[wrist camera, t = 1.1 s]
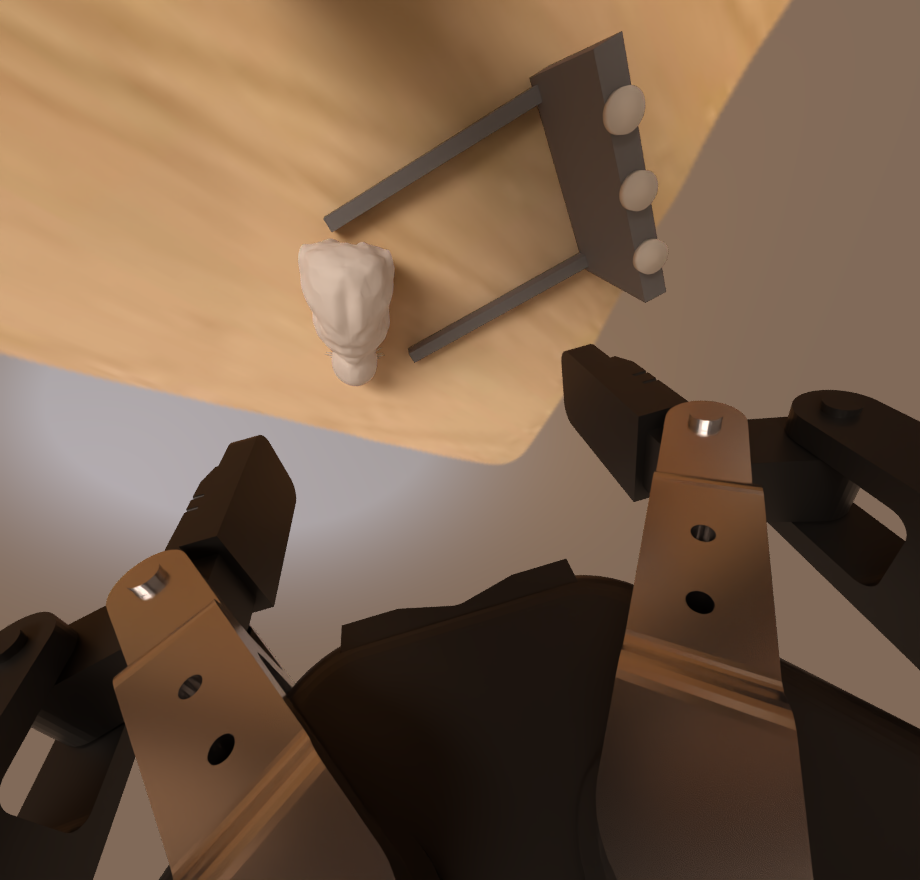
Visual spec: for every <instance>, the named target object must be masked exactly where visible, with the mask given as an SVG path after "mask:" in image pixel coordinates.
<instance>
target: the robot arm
mask: <svg viewBox="0 0 920 880" xmlns="http://www.w3.org/2000/svg"><path fill="white" fill-rule="evenodd" d="M561 361H562V377H563V392H564V404H565V410H566V413H567V416H568V419H569V421H570V423H571V424H572V426H573V427H574V428H575V429H576V431H577V432H578V433H579V434H580V436H581V437H582V438H583V439H584V440H585V442H586V443H587V444H588V445H589V447H590V448H591V449H592V450H593V451H594V453H595V454H596V455H597V457H598V458H599V459H600V460H601V462H602V463H603V464H604V465H605V467H606V468H607V469H608V470H609V472H610V473H611V474H612V475H613V477H614V478H615V479H616V480H617V482H618V483H619V484H620V485H621V487H622V488H623V489H624V490H625V492H626V493H627V494H628V495H629V497H630V498H631V499H632V500H633V502H636V501H639V500H642V499H646V498H649V502H648V508H647V514H646V519H645V525H644V530H643V536H642V542H641V548H640V553H639V559H638V565H637V570H636V576H635V582H634V585H633V584H630V583H628V582H624V581H621V580H617V579H613V578H608V577H602V576H591V575H574V573H573V571H572V569H571V568H570V565H569V563H568V561H567V559H564V560H560V561H557V562H554V563H550V564H547V565H544V566H540V567H537V568H534V569H530V570H527V571H524V572H520V573H517V574H513V575H511V576H509V577H507V578H506V579H504V580H502V581H500V582H499V583H497V584H495V585H494V586H492V587H490V588H489V589H486V590H485V591H483V592H481V593H480V594H478V595H476V596H474V597H472V598H471V599H469V600H467V601H465V602H464V603H462V604H459V605H455V606H442V607H423V608H406V609H396V610H393V611H389V612H386V613H382V614H379V615H376V616H372V617H369V618H366V619H362V620H359V621H356V622H352V623H349V624H346V625H342V634H341V646H340V647H339V648H337V649H335V650H334V651H332V652H331V653H329V654H328V655H327V656H325V657H324V658H322V659H321V660H320V661H319V662H318V663H316V664H315V665H314V666H313V667H312V668H310V669H309V670H308V671H307V672H306V673H305V674H304V675H303V676H302V677H301V678H300V679H299V680H298V681H297V683H295V682H294V681H293V680H292V678H291V677H290V676H289V674H288V673H287V672H286V671H285V669H284V668H283V666H282V665H281V664H280V662H279V661H278V660H277V659H276V657H275V656H274V654H273V653H272V652H271V650H270V649H269V648H268V646H267V645H266V644H265V642H264V641H263V640H262V638H261V637H260V636H259V634H258V633H257V632H256V630H255V629H254V628H253V627H252V626H251V625H250V624H249V623H250V619H251V615H252V613H253V612H257V611H261V610H264V609H267V608H271V607H274V604H275V599H276V594H277V590H278V585H279V580H280V575H281V571H282V566H283V561H284V556H285V552H286V547H287V542H288V537H289V532H290V527H291V523H292V518H293V514H294V509H295V504H296V493H295V488H294V485H293V483H292V480H291V478H290V477H289V475H288V473H287V472H286V470H285V468H284V466H283V465H282V463H281V461H280V460H279V458H278V456H277V455H276V453H275V451H274V449H273V448H272V446H271V444H270V443H269V441H268V440H267V439H266V438H265V437H264V436H262V435H258V436H254V437H251V438H247V439H244V440H240V441H236V442H233V443H231V444H230V445H229V446H228V448H227V450H226V452H225V454H224V456H223V458H222V460H221V462H220V464H219V466H217V467H215V468H214V469H213V470H212V471H211V472H210V473H209V474H208V475H207V476H206V478H204V479H203V480H202V481H201V482H200V484H199V486H198V488H197V490H196V492H195V494H194V496H193V500H191V501H190V503H189V505H188V507H187V509H186V510H187V512H186V513H184V515H183V516H182V518H181V520H180V522H179V524H178V526H177V528H176V530H175V532H174V534H173V535H172V537H171V539H170V541H169V543H168V545H167V547H166V549H165V551H163V552H160V553H158V554H155V555H153V556H151V557H149V558H147V559H145V560H143V561H142V562H140V563H138V564H137V565H136V566H134V567H133V568H132V569H130V570H129V571H128V572H127V573H126V574H125V575H124V576H123V577H122V578H121V579H120V580H119V581H118V582H117V583H116V584H115V586H114V587H113V588H112V590H111V592H110V593H109V595H108V598H107V601H106V606H104V607H102V608H100V609H98V610H96V611H94V612H92V613H91V614H89V615H87V616H85V617H83V618H81V619H79V620H77V621H75V622H73V623H71V624H69V625H68V624H66V623H65V622H63V621H62V620H61V619H59V618H58V617H57V616H55V615H54V614H52V613H50V612H39V613H35V614H32V615H29V616H27V617H24V618H22V619H20V620H18V621H16V622H15V623H12V624H11V625H9V626H7V627H6V628H4V629H3V630H1V631H0V785H1V782H2V779H3V777H4V775H5V773H6V771H7V769H8V768H9V766H10V764H11V762H12V760H13V758H14V757H15V755H16V753H17V751H18V750H19V748H20V746H21V744H22V742H23V741H24V739H25V737H26V735H27V733H28V731H29V730H30V728H34V729H36V730H37V731H39V732H41V733H43V734H45V735H47V736H49V737H51V738H53V739H55V742H54V744H53V746H52V748H51V750H50V752H49V754H48V756H47V758H46V760H45V762H44V764H43V766H42V768H41V770H40V772H39V774H38V776H37V778H36V780H35V782H34V784H33V786H32V788H31V790H30V792H29V794H28V796H27V798H26V800H25V802H24V804H23V806H22V808H21V810H20V812H19V814H18V816H17V817H16V816H13V815H10V814H8V813H6V812H5V811H4V810H3V809H2V807H1V805H0V880H93V878H94V874H95V872H96V869H97V866H98V863H99V860H100V857H101V854H102V852H103V849H104V846H105V843H106V840H107V837H108V834H109V831H110V829H111V826H112V822H113V820H114V817H115V814H116V811H117V808H118V805H119V803H120V799H121V797H122V794H123V791H124V788H125V785H126V782H127V779H128V777H129V774H130V771H131V768H132V765H133V762H134V759H135V757H136V760H137V763H138V766H139V769H140V773H141V776H142V779H143V782H144V786H145V789H146V792H147V795H148V798H149V801H150V804H151V808H152V811H153V814H154V817H155V821H156V824H157V827H158V830H159V833H160V836H161V840H162V843H163V846H164V849H165V852H166V855H167V859H168V862H169V866H168V867H167V868H166V870H165V871H164V873H163V874H162V876H161V877H160V879H159V880H920V729H919V728H917V727H915V726H913V725H911V724H909V723H907V722H905V721H903V720H901V719H899V718H897V717H896V716H894V715H892V714H890V713H887V712H886V711H884V710H882V709H880V708H878V707H876V706H874V705H872V704H870V703H868V702H866V701H864V700H862V699H860V698H858V697H856V696H854V695H852V694H850V693H848V692H846V691H844V690H842V689H840V688H838V687H836V686H834V685H833V684H830V683H828V682H827V681H825V680H823V679H821V678H819V677H816V676H815V675H813V674H811V673H809V672H807V671H805V670H803V669H801V668H799V667H797V666H795V665H793V664H791V663H789V662H787V661H785V660H783V659H781V658H780V657H779V648H778V637H777V627H776V616H775V606H774V596H773V585H772V575H771V565H770V554H769V544H768V533H767V524H766V522H768V523H769V524H770V525H771V526H772V527H773V528H774V529H775V530H776V531H777V532H778V533H779V534H780V535H781V536H782V537H783V538H784V539H785V540H786V541H788V542H789V543H790V544H791V545H792V546H793V547H794V548H795V549H796V550H797V551H798V552H799V553H800V554H801V555H802V556H803V557H804V558H805V559H806V560H807V561H808V562H809V563H810V564H811V565H812V566H813V567H814V568H815V569H816V570H817V571H818V572H819V573H820V574H821V575H822V576H824V577H825V578H826V579H827V580H828V581H829V582H830V583H831V584H832V585H833V586H834V587H835V588H836V589H837V590H838V591H839V592H840V593H841V594H842V595H843V596H844V597H845V598H846V599H847V600H848V601H849V602H850V603H851V604H852V605H853V606H854V607H855V608H857V610H858V611H860V612H861V613H862V614H863V615H864V616H865V617H866V618H867V619H868V620H869V621H870V622H871V623H872V624H873V625H874V626H875V627H876V628H877V629H878V630H879V631H880V632H881V633H882V634H883V635H884V636H885V637H886V638H887V639H889V641H891V643H893V644H894V645H895V646H896V647H897V648H898V649H899V650H900V651H901V652H902V653H903V654H904V655H905V656H906V657H907V658H908V659H909V660H910V661H911V662H912V663H913V664H914V665H915V666H916V667H917V668H918V669H919V670H920V422H919V421H917V420H915V419H913V418H911V417H909V416H907V415H905V414H903V413H901V412H899V411H897V410H895V409H893V408H891V407H889V406H887V405H885V404H883V403H881V402H879V401H877V400H875V399H873V398H870V397H867V396H864V395H860V394H857V393H852V392H846V391H838V390H819V391H812V392H807V393H804V394H801V395H799V396H798V397H796V398H795V399H794V401H793V403H792V406H791V409H790V412H789V415H788V417H778V418H763V419H750V420H749V419H747V418H746V417H745V415H744V414H743V413H741V412H740V411H739V410H737V409H735V408H733V407H731V406H729V405H726V404H723V403H718V402H713V401H691V402H688V401H687V400H686V399H684V398H683V397H681V396H680V395H679V394H677V393H676V392H674V391H673V390H671V389H670V388H669V387H668V386H666V385H665V384H663V383H662V382H661V381H659V380H656V378H655V377H654V376H652V375H651V374H650V373H646V371H645V370H644V369H643V368H641V367H640V366H638V365H637V364H636V363H634V362H632V361H629V360H626V359H622V358H619V357H616V356H614V357H611V358H610V357H609V356H608V355H606V354H605V353H604V352H602V351H601V350H600V349H598V348H597V347H596V346H595V345H593V344H589V345H586V346H582V347H578V348H575V349H571V350H568V351H564V352H563V354H562V360H561ZM860 488H862V489H863V490H865V491H866V492H868V493H869V494H870V495H872V496H873V497H875V498H877V499H878V500H879V501H880V502H882V503H883V504H885V505H886V506H887V507H889V508H890V509H892V510H893V511H894V512H895V513H896V514H897V515H898V516H899V517H900V519H901V520H902V522H903V523H904V525H905V528H906V532H907V538H906V541H904V540H903V539H902V538H900V537H899V536H897V535H896V534H895V533H893V532H892V531H891V530H889V529H888V528H887V527H885V526H884V525H883V524H881V523H880V522H879V521H877V520H876V519H875V518H873V517H872V516H871V515H869V514H868V513H867V512H865V511H864V510H863V509H861V508H860V507H858V506H857V505H856V504H854V503H853V500H854V499H855V497H856V495H857V493H858V491H859V489H860Z"/></svg>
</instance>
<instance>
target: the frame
mask: <svg viewBox="0 0 920 880" xmlns="http://www.w3.org/2000/svg"><path fill="white" fill-rule="evenodd" d="M530 81H531V85H532V87H531V88H529V89H528V90H526V91H524V92H523V93H521V94H520V95H518V96H516V97H515V98H513V99H512V100H510V101H508V102H507V103H505V104H504V105H502V106H500V107H499V108H497V109H496V110H494V111H492V112H491V113H489V114H488V115H486V116H484V117H483V118H481V119H480V120H478V121H477V122H475V123H473V124H472V125H470V126H469V127H467V128H465V129H464V130H462V131H461V132H459V133H457V134H456V135H454V136H453V137H451V138H449V139H448V140H446V141H445V142H443V143H441V144H440V145H438V146H437V147H435V148H433V149H432V150H430V151H429V152H427V153H425V154H424V155H422V156H421V157H419V158H417V159H416V160H414V161H413V162H411V163H410V164H408V165H406V166H405V167H403V168H402V169H400V170H398V171H397V172H395V173H394V174H392V175H390V176H389V177H387V178H386V179H384V180H382V181H381V182H379V183H378V184H376V185H374V186H373V187H371V188H370V189H368V190H366V191H365V192H363V193H362V194H360V195H358V196H357V197H355V198H354V199H352V200H350V201H349V202H347V203H346V204H344V205H343V206H341V207H339V208H338V209H336V210H335V211H333V212H331V213H330V214H328V215H327V216H325V217H324V218H323V219H324V221H325V222H326V224H327V225H328V227H329V229H330V230H331V232H333V231H335V230H337V229H338V228H340V227H341V226H343V225H345V224H346V223H348V222H350V221H351V220H353V219H354V218H356V217H358V216H359V215H361V214H362V213H364V212H366V211H367V210H369V209H371V208H372V207H374V206H375V205H377V204H379V203H380V202H382V201H383V200H385V199H387V198H388V197H390V196H392V195H393V194H395V193H396V192H398V191H400V190H401V189H403V188H404V187H406V186H408V185H409V184H411V183H413V182H414V181H416V180H417V179H419V178H421V177H422V176H424V175H425V174H427V173H429V172H430V171H432V170H434V169H435V168H437V167H438V166H440V165H442V164H443V163H445V162H446V161H448V160H450V159H451V158H453V157H455V156H456V155H458V154H459V153H461V152H463V151H464V150H466V149H467V148H469V147H471V146H472V145H474V144H475V143H477V142H479V141H480V140H482V139H484V138H485V137H487V136H488V135H490V134H492V133H493V132H495V131H496V130H498V129H500V128H501V127H503V126H505V125H506V124H508V123H509V122H511V121H513V120H514V119H516V118H517V117H519V116H521V115H522V114H524V113H526V112H527V111H529V110H530V109H532V108H534V107H535V106H538V109H539V113H540V116H541V120H542V123H543V127H544V130H545V134H546V137H547V141H548V144H549V148H550V151H551V155H552V158H553V162H554V165H555V168H556V172H557V175H558V179H559V182H560V186H561V189H562V193H563V196H564V200H565V203H566V207H567V210H568V214H569V217H570V221H571V224H572V228H573V231H574V235H575V238H576V242H577V245H578V249H579V252H580V253H578V254H576V255H574V256H572V257H571V258H569V259H567V260H565V261H563V262H562V263H560V264H558V265H556V266H555V267H553V268H551V269H549V270H547V271H546V272H544V273H542V274H540V275H538V276H537V277H535V278H533V279H531V280H529V281H528V282H526V283H524V284H522V285H521V286H519V287H517V288H515V289H513V290H512V291H510V292H508V293H506V294H504V295H503V296H501V297H499V298H497V299H496V300H494V301H492V302H490V303H488V304H487V305H485V306H483V307H481V308H479V309H478V310H476V311H474V312H472V313H471V314H469V315H467V316H465V317H463V318H462V319H460V320H458V321H456V322H454V323H453V324H451V325H449V326H447V327H445V328H444V329H442V330H440V331H438V332H437V333H435V334H433V335H431V336H429V337H428V338H426V339H424V340H422V341H420V342H419V343H417V344H415V345H413V346H412V347H410V348H408V352H409V355H410V356H411V358H412V360H413V361H414V363H415V362H417V361H419V360H420V359H422V358H424V357H426V356H428V355H429V354H431V353H433V352H435V351H437V350H439V349H440V348H442V347H444V346H446V345H448V344H449V343H451V342H453V341H455V340H457V339H458V338H460V337H462V336H464V335H466V334H467V333H469V332H471V331H473V330H475V329H477V328H478V327H480V326H482V325H484V324H486V323H487V322H489V321H491V320H493V319H495V318H496V317H498V316H500V315H502V314H504V313H505V312H507V311H509V310H511V309H513V308H514V307H516V306H518V305H520V304H522V303H524V302H525V301H527V300H529V299H531V298H533V297H534V296H536V295H538V294H540V293H542V292H543V291H545V290H547V289H549V288H551V287H552V286H554V285H556V284H558V283H560V282H562V281H563V280H565V279H567V278H569V277H571V276H572V275H574V274H576V273H578V272H580V271H581V270H583V269H586V270H587V271H589V272H591V273H593V274H595V275H596V276H598V277H600V278H602V279H604V280H605V281H607V282H609V283H611V284H612V285H614V286H616V287H618V288H620V289H621V290H623V291H625V292H627V293H629V294H631V295H632V296H634V297H636V298H638V299H639V300H641V301H643V302H645V303H646V302H648V301H650V300H652V299H653V298H655V297H657V296H659V295H661V294H663V293H665V292H666V288H665V282H664V276H663V271H662V267H663V265H664V264H665V262H666V260H667V257H668V247H667V245H666V243H665V242H663V241H661V240H658V239H657V235H656V229H655V223H654V217H653V211H652V205H651V203H652V202H653V200H654V198H655V196H656V194H657V190H658V181H657V178H656V176H655V174H654V173H653V172H651V171H647V170H645V164H644V158H643V152H642V146H641V140H640V134H639V128H638V125H639V123H640V122H641V120H642V118H643V115H644V111H645V97H644V94H643V92H642V91H641V89H640V88H638V87H637V86H634V85H631V81H630V75H629V69H628V63H627V57H626V51H625V45H624V39H623V33H622V31H621V32H619V33H617V34H615V35H613V36H611V37H609V38H606V39H604V40H602V41H600V42H598V43H596V44H594V45H592V46H590V47H587V48H585V49H583V50H581V51H579V52H577V53H575V54H573V55H570V56H568V57H566V58H564V59H562V60H560V61H558V62H556V63H554V64H551V65H549V66H548V67H546V68H545V69H543V70H541V71H540V72H538V73H537V74H535V75H534V76H532V77H530Z"/></svg>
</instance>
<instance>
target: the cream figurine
mask: <svg viewBox="0 0 920 880" xmlns="http://www.w3.org/2000/svg"><path fill="white" fill-rule="evenodd" d="M298 265H299V271H300V277H301V288H302V291H303V294H304V297H305V299H306V302H307V304H308V305H309V307H310V309H311V311H312V312H313V324H314V326H315V330H316V332H317V334H318V336H319V337H320V339H321V340H322V341H323V342H324V343H325V344H326V346H327V347H328V348H329V349H331V350H332V351H333V352H332V353H331V352H327V353H330V354H332V355H329V354H325V355H329V356H332V357H330V358H332V367H333V370H334V372H335V374H336V376H337V377H338V378H339V379H340V380H341V381H342V382H344V383H346V384H348V385H351V386H360V385H363V384H366V383H367V382H369V381H370V380H371V379H372V378H373V376H374V375H375V373H376V369H377V359H379V358H377V357H380V356H384V355H379V354H382V353H376V351H378V350H379V349H381V348H379V349H377V350H375V349H376V348H377V347H378V346H379V345H380V344H381V343H382V342H383V340H384V339H385V337H386V335H387V331H388V329H389V326H390V316H389V305H390V302H391V299H392V295H393V286H394V283H393V279H394V273H395V266H394V263H393V259H392V255H391V253H390V251H389V250H387V249H383V248H380V247H377V246H373V245H370V244H367V243H365V242H360V243H358V244H357V245H354V244H350V243H340V242H339V241H337V240H335V239H326V240H323V241H322V242H317V243H313V244H302V245H301V247H300V250H299V254H298Z"/></svg>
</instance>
